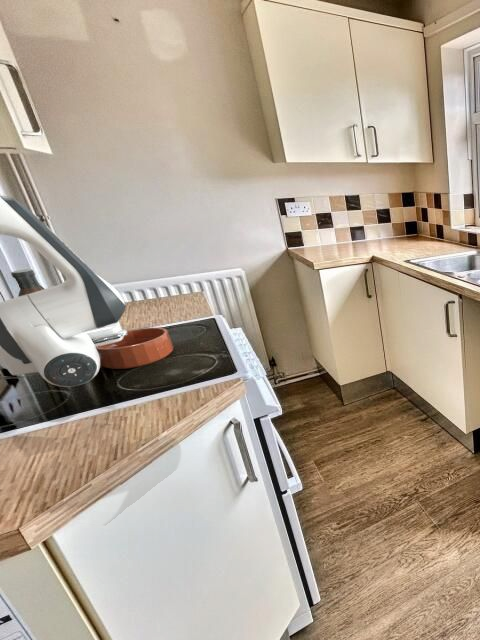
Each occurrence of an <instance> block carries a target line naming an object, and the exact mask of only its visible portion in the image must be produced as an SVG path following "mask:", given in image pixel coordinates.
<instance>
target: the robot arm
mask: <svg viewBox="0 0 480 640" xmlns="http://www.w3.org/2000/svg"><path fill="white" fill-rule="evenodd" d="M0 235H2V236H3V235H4V236H7V237H13V238H16V239H20V240H22V241H24V242H25V243H27V244H29V245H30V246H32V247H33V248H34V249H35V250H36V251H37V252H38V253H39V254H40V255H41V256H43V257H44V258H45V259H46V260H47V261H48V262H49V263H50V264H51V265H52V266H53V267H54V268H55V269H57V270H58V271H59V272H60V273H61V274H62V275H63V276H64V277H65V280H64V281H63V282H62V283H60V284H57V285H53V286H50V287H46V288H45V289H44V290H40V291H37V292H34V293H31V294H25V295H22V296H19V297H18V296H16V297H13V298H10V299H6V300H4V301H1V302H0V367H1V368H3V369H6V370H7V371H8V372H9V374H10V375H11V376H20V375H29V374H34V373H36V374H37V373H38V374H39V376H40V377H42V379H43V380H44V381H46V382H47V383H49V384H51V385H53V386H57V387H61V388H71V387H72V388H73V387H79V386H81V385H83V384H87V383H88V382H90V381H92V380H93V379H94V378H95V377H97V375H98V373H99V371H100V368H101V364H100V357H99V354H98V351H97V349H96V347H98V346H102V345H107V344H111V343H115V342H118V341H121V340H122V339H123V338H124V336H125V335H127V331H128V330H126V329H123V327H122V325H121V323H120V320H121V318H122V317H123V316H124V313H125V311H126V308H127V305H126V303H125V299H124V297H123V296H122V294H120V292H119V291H118V290H117V289H116V288H115V287H114V286H113V285H112V284H111V283H109V282H108V281H107V280H105V279H104V278H102V277H101V276H100V275H99V274H97V273H95V272H94V271H93V270H92V269H91V268H90V267H89V266H88V265H87V264H86V262H85V261H83V259H81V257H80V256H78V254H77V253H76V252H74V250H73V249H72V248H70V246H68V245H67V244H66V243H65V242H64V241H63V240H62V239H61V238H60V237H59V236H58V235H57V234H56V232H54V231H53V230H52V229H51V228H50V227H49V226H48V225H46V224H45V223H44V222H43V221H41V219H39V218H38V216H36V215H35V213H33V212H32V211H31V210H30V209H29V208H28V207H27V206H25V205H24V204H23V203H22V202H20V201H18V200H17V199H16V198H13V197H12V196H7V195H0Z"/></svg>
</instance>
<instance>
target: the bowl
mask: <svg viewBox="0 0 480 640" xmlns="http://www.w3.org/2000/svg"><path fill="white" fill-rule="evenodd" d="M126 331H127V335H125V336H124V338H123V339H122V340H121V341H118V342H115V343H111V344H107V345H102V346H98V347H96V349H97V351H98V354H99V357H100V367H102V368H105V369H110V370H125V369H132V368H137V367H142V366H146V365H149V364H152V363H155V362H157V361H160V360H162V359H164V358H166V357H168V356H169V355H170V354H171V353H172V352H173V351H174V345H173V342H172V340H171V337H170V334H169V331H168V329H166V328H164V327H142V328H136V329H129V330H126Z"/></svg>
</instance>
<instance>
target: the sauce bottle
mask: <svg viewBox="0 0 480 640" xmlns="http://www.w3.org/2000/svg"><path fill="white" fill-rule="evenodd" d="M10 275H11V277H12V278H14V279H15V281H16V284H17V285H18V288H19V292H18V296H17V297H19V296H22V295H25V294H31V293H34V292H37V291H40V290H44V289H46V287H45V288H44V287H43V286H42V285H41V284H40V282H39V281H38V279H37V277H36V273H35V271H34V270H33V269H32V268H28V269H27V268H26V269H25V268H24V269H18V270H14V271H11V272H10Z"/></svg>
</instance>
